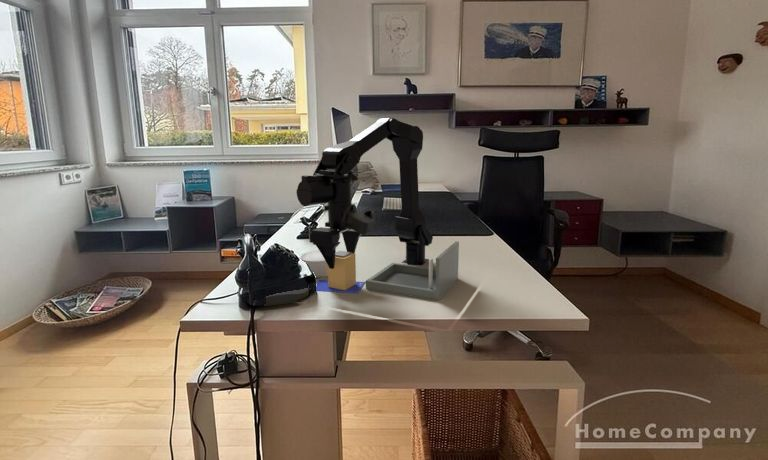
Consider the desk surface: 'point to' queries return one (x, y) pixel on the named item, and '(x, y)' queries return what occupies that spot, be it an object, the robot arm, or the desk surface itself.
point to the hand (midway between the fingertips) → (341, 263)
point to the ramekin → (316, 263)
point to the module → (342, 271)
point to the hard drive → (323, 286)
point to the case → (419, 276)
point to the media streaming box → (286, 297)
